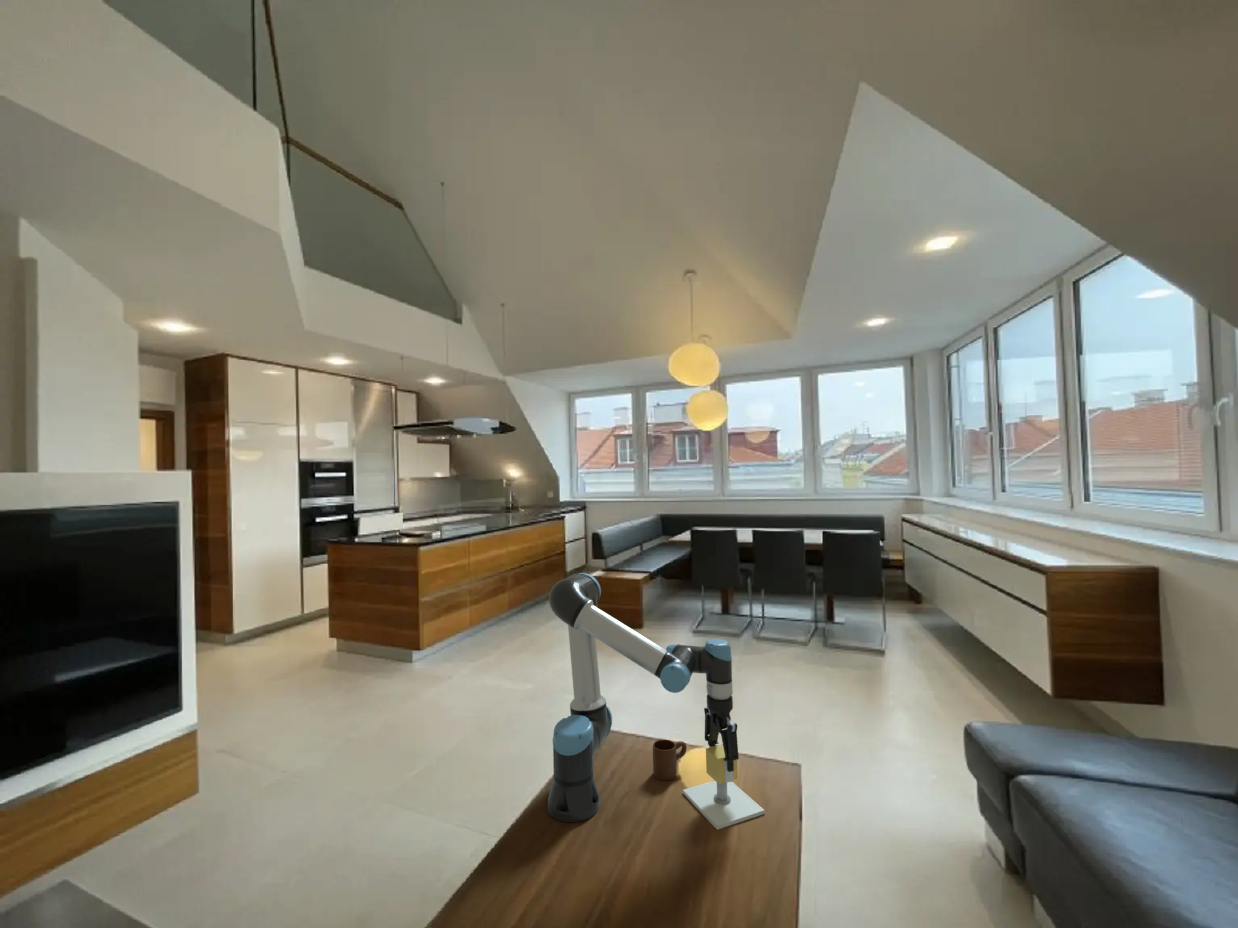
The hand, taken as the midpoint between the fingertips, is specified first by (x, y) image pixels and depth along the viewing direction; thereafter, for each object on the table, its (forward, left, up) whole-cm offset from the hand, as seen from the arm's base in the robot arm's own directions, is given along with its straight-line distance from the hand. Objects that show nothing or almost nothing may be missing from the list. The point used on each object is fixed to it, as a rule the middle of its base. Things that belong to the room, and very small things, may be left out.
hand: (721, 774), depth 147 cm
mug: (-20, -6, -8) cm, 22 cm away
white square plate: (0, 0, -8) cm, 8 cm away
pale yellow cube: (0, 0, 0) cm, 0 cm away
